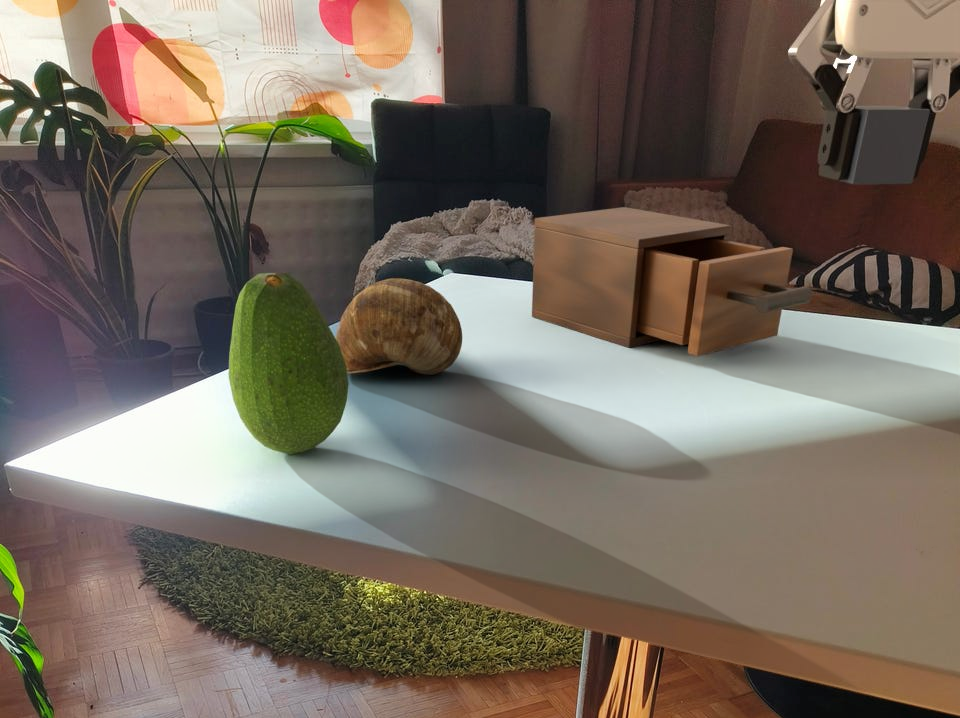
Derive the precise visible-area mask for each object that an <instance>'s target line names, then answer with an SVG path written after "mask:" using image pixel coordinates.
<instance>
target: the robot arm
mask: <svg viewBox="0 0 960 718" xmlns="http://www.w3.org/2000/svg"><path fill="white" fill-rule="evenodd" d="M823 54H825V55H827V56H829V57H835V60H834V63H833V64H831V63H830V62H829V61H828V60H827V58H826V57H825V56H824V55H823ZM787 57H788V60H789V61H790V62H791V63H792V65H794V66H795V67H796V69H798V71H799V72H800V73H801V74H802V75H803V76H805V78H807V80H808V83H809V84H810V86H811V87H812V90H813V91H814V92H815V94H816V96H817V97H818V99H819V101H820V102H819V103H820V107H821V109H822V110H824V111H825V116H824V121H823V127H822V132H821V136H820V141H819V147H818V151H817V152H818V153H817V163H818V165H819V167H818V175H819V176H820V177H823V178H827V179H831V180H834V181H838V180H845V179H846V178H847V177H848V175H849V171H850V166H851V161H852V157H853V152H854V147H855V142H856V138H857V133H858V128H859V123H860V113H854V112H855V107H856V106H857V103H858V100H859V97H860V95H861V93H862V89H863V87H864V85H865V83H866V80H867V77H868V75H869V72H870V70H871V67H872V65H873V63H874V60H875V59H901V60H902V59H910V72H909V95H908V96H909V97H908V106H907V107H911V108H921V109H929V110H930V112H929V116H928V120H927V124H926V128H925V132H924V136H923V140H922V144H921V148H920V152H919V156H918V160H917V165H916V169H915V173H914V177H913V180H916V179H917V178H918V176H919V173H920V169H921V165H922V163H923V162H924V161H925V159H926V155H927V151H928V147H929V143H930V140H931V137H932V132H933V128H934V124H935V120H936V115H937V114H939V113H941V112H943V111H944V110H945V109H946V108H947V106H948V103H949V101H950V99H951V98H953V96H954V95H956V94H957V93H958V92H959V91H960V0H821V1H820V5H819V8H818V9H817V10H816V12H814V15H813V16H812V17H811V18H810V20H809V21H808V22H807V24H806V25H805V27H804V28H803V29H802V31H801V32H800V33H799V35H798V36H797V37H796V39H795V40H794V42H792V44H791V45H790V47H789V49H788V52H787ZM952 59H957V60H956V61H954V62H952Z"/></svg>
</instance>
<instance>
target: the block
mask: <svg viewBox="0 0 960 718" xmlns="http://www.w3.org/2000/svg"><path fill="white" fill-rule="evenodd" d="M929 112H930V110H929V109H921V108H911V107H908V106H901V105H856V107H855V112H854V113H860V123H859V128H858V133H857V138H856V142H855V147H854V152H853V157H852V161H851V166H850V171H849V175H848V177H847V178H846V179H845V180H837V181H838V182H842V183H846V184H850V185H910V184H912V183H913V181H914V179H913V177H914V173H915V169H916V165H917V160H918V156H919V152H920V148H921V144H922V140H923V136H924V132H925V128H926V124H927V120H928V116H929Z"/></svg>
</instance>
